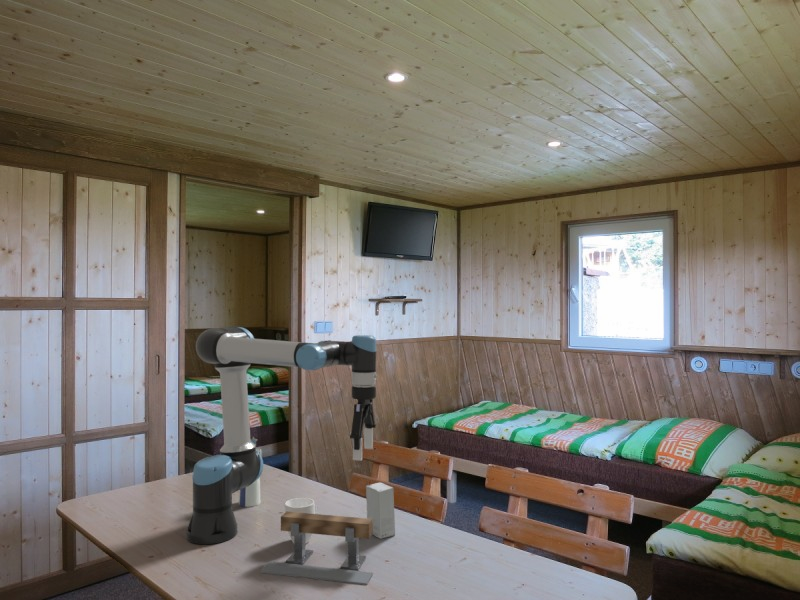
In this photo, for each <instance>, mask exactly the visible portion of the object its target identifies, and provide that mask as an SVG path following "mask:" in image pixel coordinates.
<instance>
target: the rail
mask: <svg viewBox="0 0 800 600" xmlns="http://www.w3.org/2000/svg"><path fill="white" fill-rule="evenodd" d="M292 522H296V523H300V533H311V534H312V535H313V534H314V535H322V536H323V535H324V536H332V537H345V528H346V527H351V528H355V538H359V539H365V540H370V538H371V537H372V536H373V519H367V517H365V518H364V517H354V516H344V515H343V516H342V515H341V516H340V515H331V514H330V515H329V514H322V513H320V514H318V513H317V514H309V513H298V512H286V511H285V512H284V513H283V514H282V515H281V516H280V531H282V532H288V531H290V532H291V523H292Z"/></svg>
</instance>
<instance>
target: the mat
mask: <svg viewBox="0 0 800 600" xmlns="http://www.w3.org/2000/svg"><path fill="white" fill-rule="evenodd" d="M259 573H260V574H268V575H278V576H284V577H285V576H286V577H287V576H288V577H295V578H304V579H312V580H321V581H329V582H339V583H348V584H356V585H365V586H367V585H368V583H369V582H370V580H371V579H372V577H373V575H374V572H371V571H362V570H361V571H360V570H358V571H356V570H347V569H340V568H334V567H333V568H332V567H325V566H323V567H322V566H316V565H315V566H314V565H304V564H303V565H301V564H291V563H286V562H278V561H270V560H269V561H268V562H267V563H266V564H265V565H264V566H263V567H262V568H261V569H260V570H259Z"/></svg>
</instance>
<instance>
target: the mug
mask: <svg viewBox="0 0 800 600" xmlns="http://www.w3.org/2000/svg"><path fill="white" fill-rule="evenodd" d="M284 507H285V509H284V510H285V512H298V513H309V514H318V509H317V508H318V507H317V505H316V504H315V500H314V499H312V498H309V497H295V498H291V499H288V500H287V501H285V503H284ZM287 533H288V534H289V536H290V537H289V538H290V540H291V541H292V544H294V536H291V532H290V531H287ZM312 536H313V534H311V533H306V535H305V545H307V544H308V543H309V542H310V540H311V538H312Z"/></svg>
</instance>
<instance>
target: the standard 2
mask: <svg viewBox="0 0 800 600" xmlns="http://www.w3.org/2000/svg"><path fill="white" fill-rule="evenodd" d="M344 541H345V542H348V543H347V546H348V547H347V552H348V554H347V556H346V558H345V560H344V561H343V562H342V564H341V565H340V568H339V569H344V570H353V571H360V569H361V567H362V565H363V564H364V563H365V561H366V558H367V555H362V554H360V538H355V528H351V527H346V528H345V540H344Z"/></svg>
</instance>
